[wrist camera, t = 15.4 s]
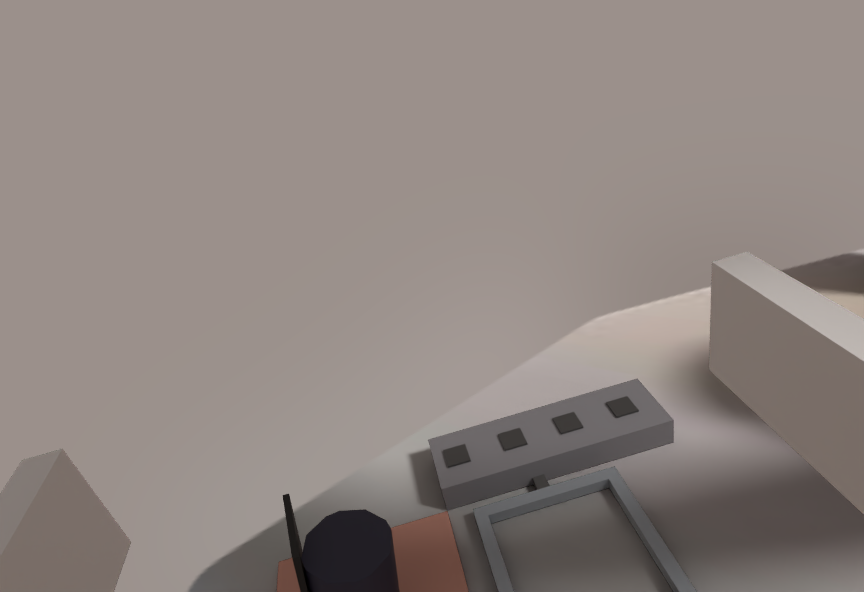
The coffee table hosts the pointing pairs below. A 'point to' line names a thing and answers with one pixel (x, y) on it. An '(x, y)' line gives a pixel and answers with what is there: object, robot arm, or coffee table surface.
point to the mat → (412, 558)
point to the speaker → (344, 553)
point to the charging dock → (556, 464)
